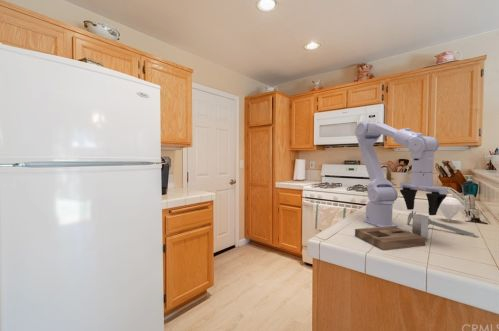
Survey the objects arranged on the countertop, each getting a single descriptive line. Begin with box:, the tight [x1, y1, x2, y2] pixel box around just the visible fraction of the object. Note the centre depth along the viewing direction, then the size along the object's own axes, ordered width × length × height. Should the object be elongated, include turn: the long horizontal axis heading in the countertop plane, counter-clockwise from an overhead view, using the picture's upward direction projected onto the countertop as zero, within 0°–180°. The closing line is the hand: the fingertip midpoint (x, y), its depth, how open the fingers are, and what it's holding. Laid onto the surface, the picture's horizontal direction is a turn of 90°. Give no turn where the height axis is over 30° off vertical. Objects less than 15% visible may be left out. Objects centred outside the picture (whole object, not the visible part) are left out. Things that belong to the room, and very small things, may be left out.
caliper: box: [407, 210, 480, 239], centre depth 84 cm, size 20×1×6 cm, turn 46°
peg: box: [411, 213, 430, 241], centre depth 75 cm, size 3×3×8 cm
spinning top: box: [438, 193, 463, 223], centre depth 95 cm, size 8×8×12 cm
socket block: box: [354, 226, 427, 251], centre depth 73 cm, size 12×16×2 cm
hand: (420, 212), depth 75 cm, fingers open, 7 cm apart
